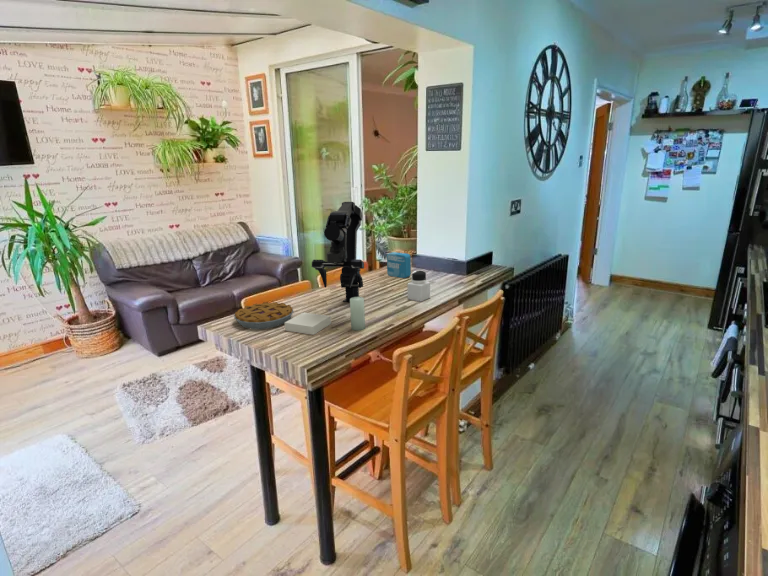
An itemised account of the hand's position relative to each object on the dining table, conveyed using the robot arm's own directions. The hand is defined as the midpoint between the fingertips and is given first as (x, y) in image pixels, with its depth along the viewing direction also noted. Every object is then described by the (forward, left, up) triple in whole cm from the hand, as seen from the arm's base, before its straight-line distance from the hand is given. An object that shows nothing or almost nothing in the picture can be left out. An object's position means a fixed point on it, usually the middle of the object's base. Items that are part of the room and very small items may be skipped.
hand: (337, 287), depth 163 cm
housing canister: (+4, +9, -13) cm, 17 cm away
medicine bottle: (-36, +21, -14) cm, 44 cm away
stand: (+8, -9, -13) cm, 18 cm away
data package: (-71, +1, -14) cm, 72 cm away
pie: (+6, -29, -14) cm, 32 cm away
